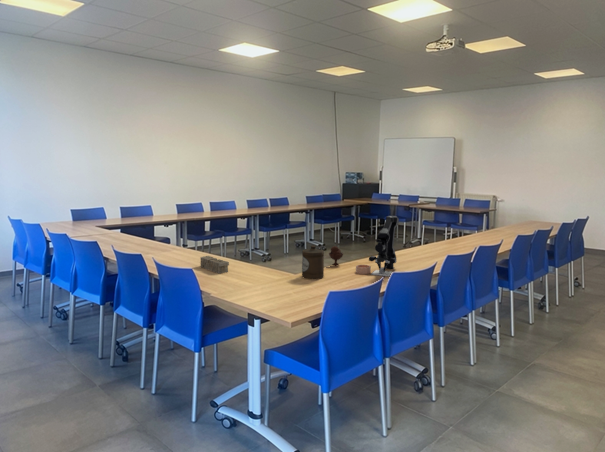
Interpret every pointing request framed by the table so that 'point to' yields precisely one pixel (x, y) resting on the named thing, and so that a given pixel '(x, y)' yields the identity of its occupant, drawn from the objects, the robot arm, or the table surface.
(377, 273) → the lid
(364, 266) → the bowl
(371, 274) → the mat
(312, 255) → the wooden container
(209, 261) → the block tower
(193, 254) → the table surface
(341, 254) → the brown egg chair
